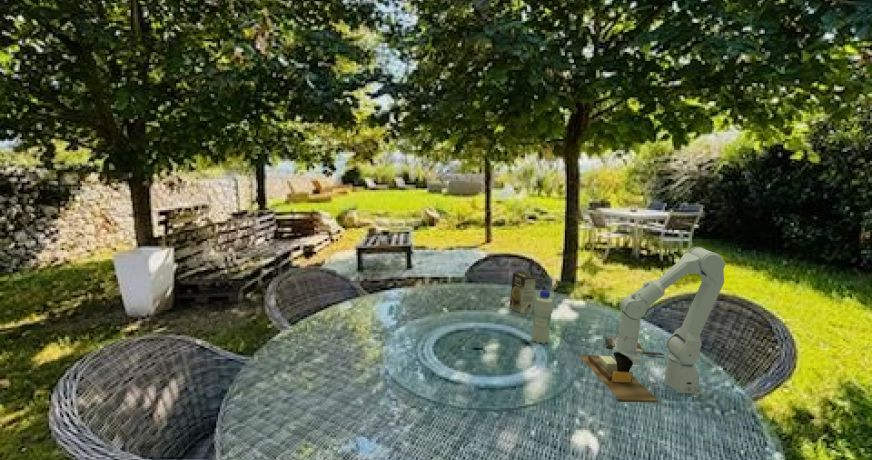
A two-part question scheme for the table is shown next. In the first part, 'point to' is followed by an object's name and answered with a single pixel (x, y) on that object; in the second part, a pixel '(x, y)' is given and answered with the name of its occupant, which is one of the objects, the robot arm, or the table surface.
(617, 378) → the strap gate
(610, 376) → the cradle
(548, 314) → the bottle
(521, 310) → the coffee box
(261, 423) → the table surface
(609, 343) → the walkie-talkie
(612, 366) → the plug
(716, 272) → the robot arm
